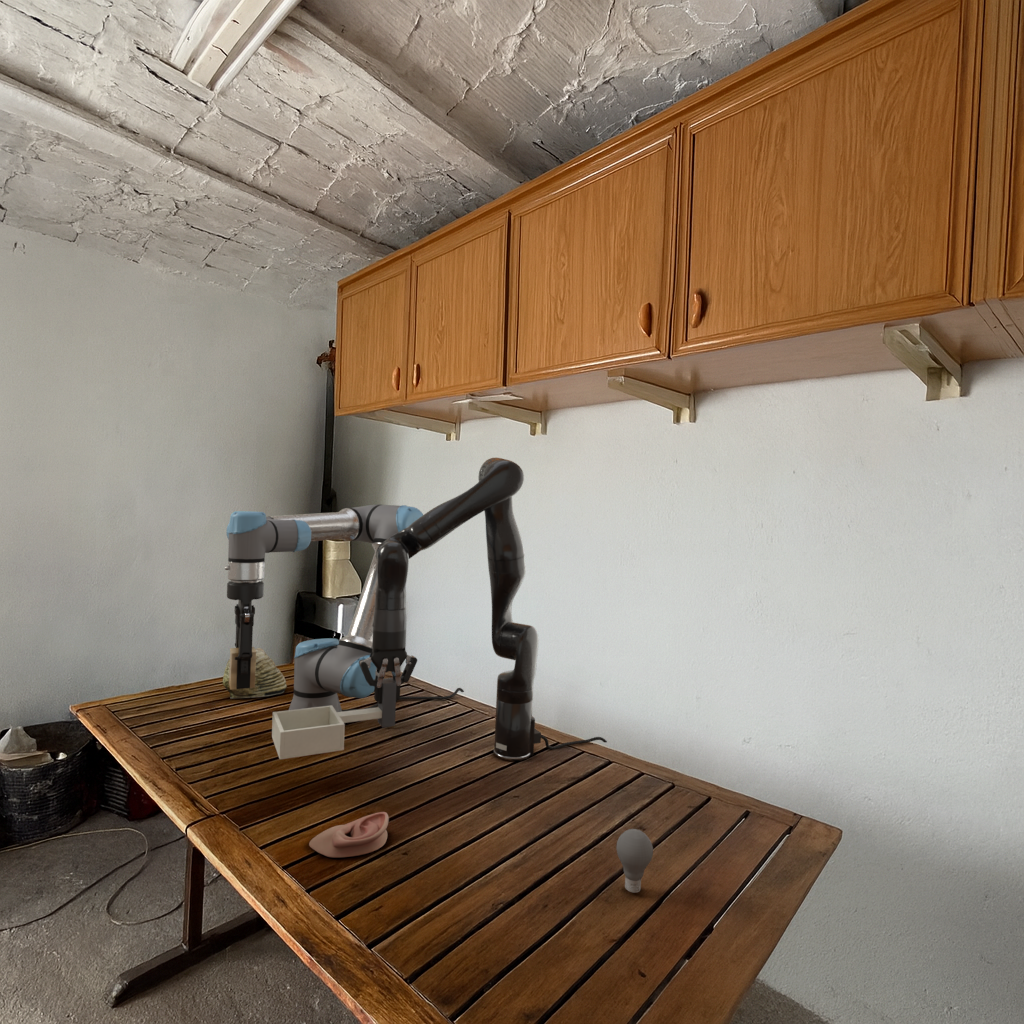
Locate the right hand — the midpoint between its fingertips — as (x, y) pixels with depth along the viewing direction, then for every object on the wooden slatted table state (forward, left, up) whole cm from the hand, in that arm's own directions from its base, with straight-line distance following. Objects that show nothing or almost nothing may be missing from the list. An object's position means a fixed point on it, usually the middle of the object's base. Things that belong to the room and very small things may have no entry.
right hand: (387, 701), depth 146 cm
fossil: (+22, -70, -17) cm, 75 cm away
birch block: (+30, -11, +4) cm, 32 cm away
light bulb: (-26, +59, -17) cm, 66 cm away
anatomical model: (+14, +26, -17) cm, 34 cm away
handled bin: (+11, 0, -7) cm, 13 cm away
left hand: (+30, -11, +4) cm, 32 cm away
